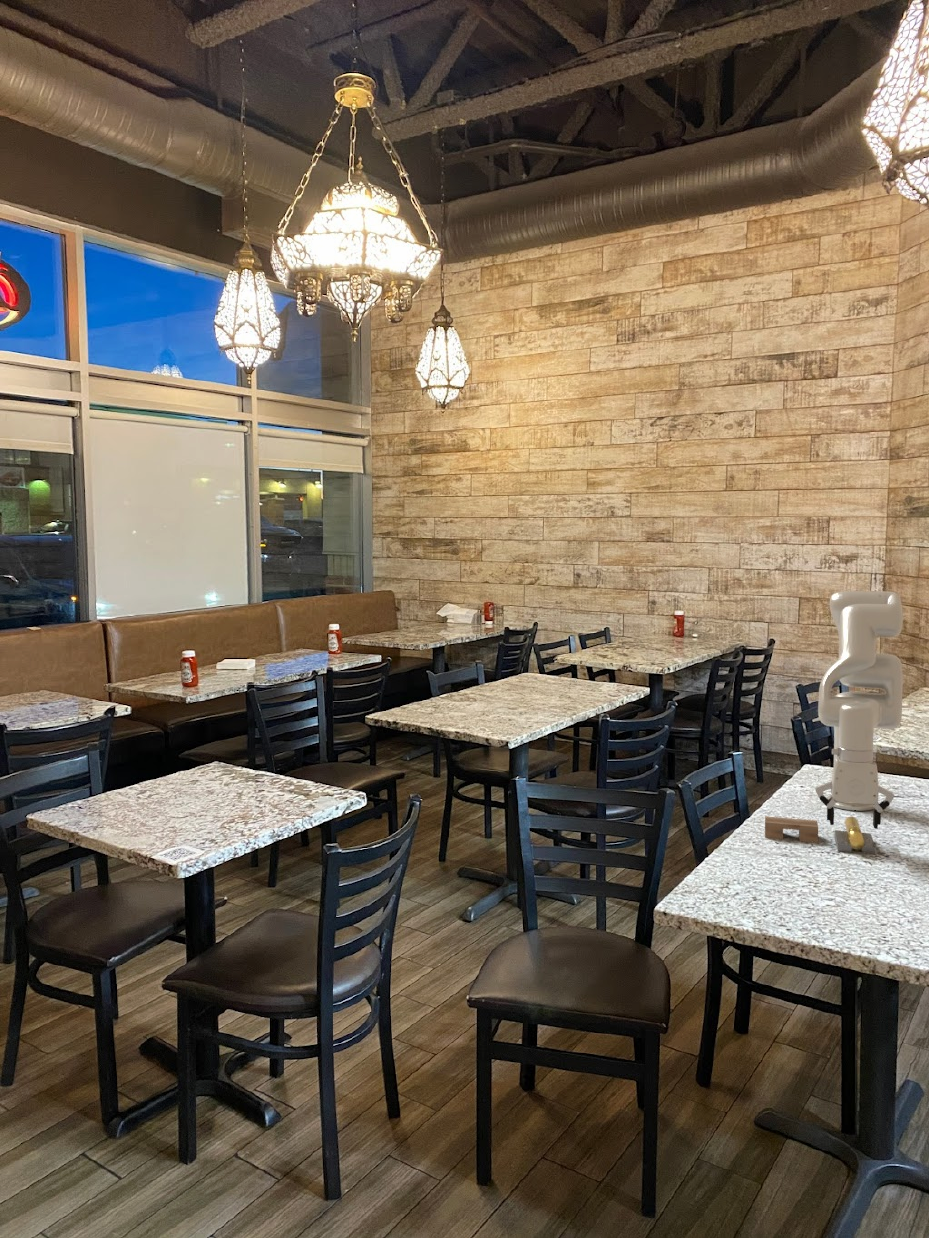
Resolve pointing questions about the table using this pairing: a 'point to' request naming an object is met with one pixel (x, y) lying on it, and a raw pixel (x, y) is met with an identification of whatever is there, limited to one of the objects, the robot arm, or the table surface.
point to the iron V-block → (845, 845)
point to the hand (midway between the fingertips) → (853, 825)
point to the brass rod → (854, 833)
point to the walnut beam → (805, 827)
